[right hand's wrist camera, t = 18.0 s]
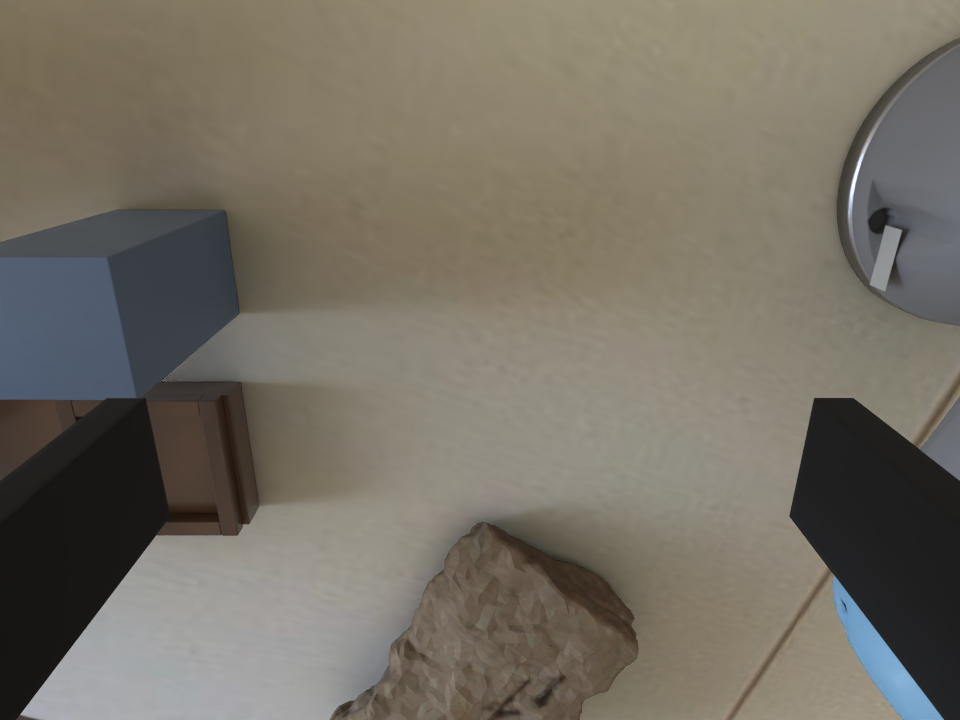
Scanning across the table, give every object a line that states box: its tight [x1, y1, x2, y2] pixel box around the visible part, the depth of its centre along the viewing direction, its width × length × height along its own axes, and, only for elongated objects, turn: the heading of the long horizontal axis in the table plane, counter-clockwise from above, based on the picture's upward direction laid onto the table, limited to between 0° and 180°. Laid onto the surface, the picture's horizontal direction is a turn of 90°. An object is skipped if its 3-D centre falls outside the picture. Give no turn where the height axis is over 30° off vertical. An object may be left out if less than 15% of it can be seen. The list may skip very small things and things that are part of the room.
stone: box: [330, 522, 638, 720], centre depth 44 cm, size 21×15×6 cm
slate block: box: [0, 210, 239, 400], centre depth 31 cm, size 6×6×12 cm
